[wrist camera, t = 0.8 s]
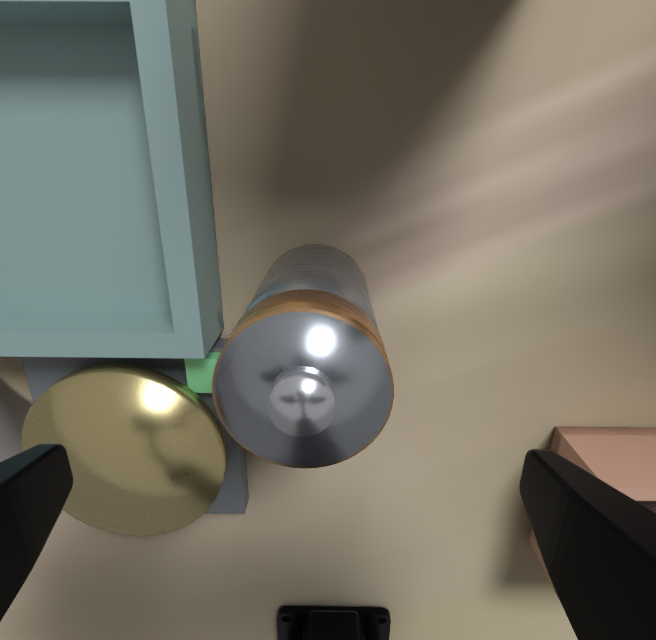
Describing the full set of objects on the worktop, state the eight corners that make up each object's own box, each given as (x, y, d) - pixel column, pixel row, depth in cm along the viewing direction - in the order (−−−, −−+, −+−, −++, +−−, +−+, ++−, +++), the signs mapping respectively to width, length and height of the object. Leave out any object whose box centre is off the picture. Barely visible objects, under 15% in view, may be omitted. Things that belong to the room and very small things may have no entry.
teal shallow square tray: (223, 328, 19) (204, 358, 16) (-49, 325, 19) (-117, 355, 16) (194, -4, 14) (160, -43, 11) (-160, -5, 14) (-281, -45, 11)
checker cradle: (248, 498, 22) (242, 523, 20) (75, 496, 22) (56, 520, 20) (236, 338, 19) (227, 354, 17) (33, 336, 19) (7, 352, 17)
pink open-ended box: (663, 541, 23) (728, 617, 19) (528, 539, 23) (567, 615, 19) (708, 428, 20) (793, 490, 16) (555, 426, 20) (606, 487, 16)
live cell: (366, 344, 19) (391, 485, 11) (264, 343, 19) (214, 483, 11) (370, 243, 17) (403, 319, 9) (259, 242, 17) (195, 317, 9)
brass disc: (234, 522, 20) (230, 536, 19) (58, 520, 20) (47, 534, 19) (219, 363, 17) (214, 373, 16) (12, 361, 17) (-3, 371, 16)
